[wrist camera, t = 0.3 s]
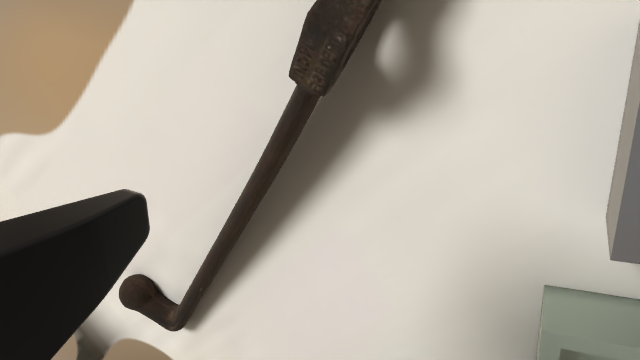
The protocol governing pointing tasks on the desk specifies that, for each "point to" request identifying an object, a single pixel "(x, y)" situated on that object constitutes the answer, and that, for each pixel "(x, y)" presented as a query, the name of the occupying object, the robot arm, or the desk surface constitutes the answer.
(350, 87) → the desk surface
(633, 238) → the fuse block
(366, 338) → the desk surface
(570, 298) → the parts tray
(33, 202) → the desk surface
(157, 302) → the wrench
